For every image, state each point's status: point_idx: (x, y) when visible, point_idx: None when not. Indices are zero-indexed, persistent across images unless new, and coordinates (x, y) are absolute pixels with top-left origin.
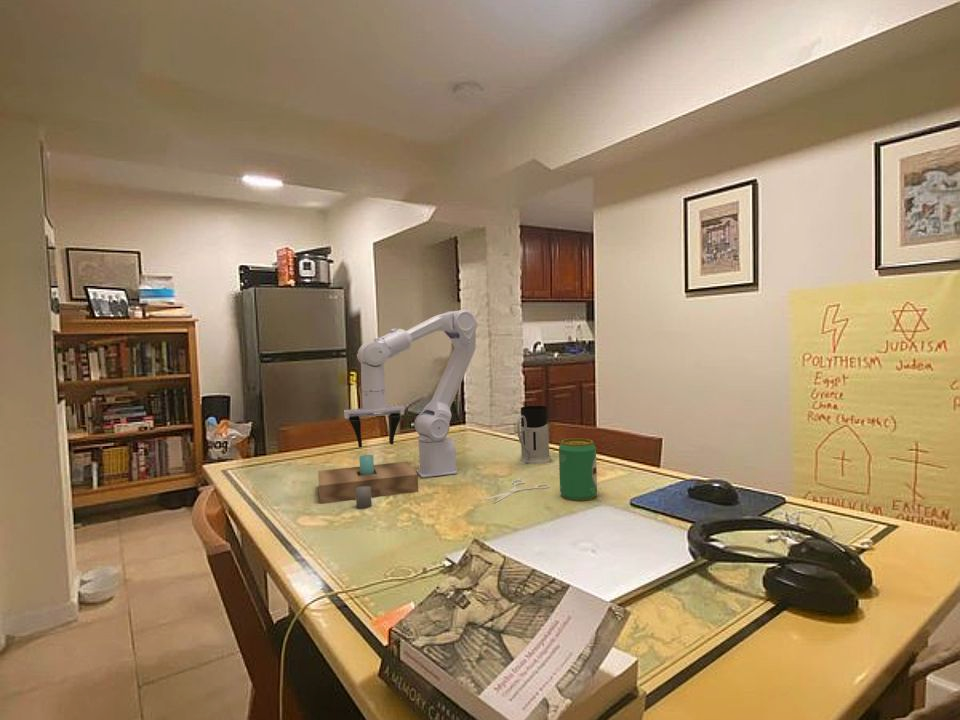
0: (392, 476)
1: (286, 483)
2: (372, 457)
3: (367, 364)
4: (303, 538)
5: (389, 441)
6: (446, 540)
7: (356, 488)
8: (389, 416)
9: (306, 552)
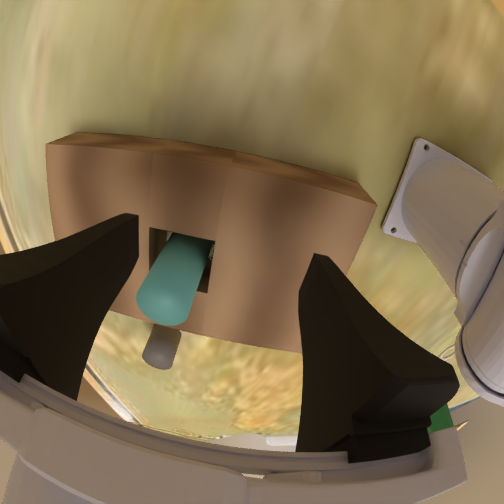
0: (239, 337)
1: (27, 60)
2: (184, 318)
3: None
4: (97, 366)
5: (313, 264)
6: (235, 427)
7: (143, 355)
8: (336, 436)
9: (109, 387)
